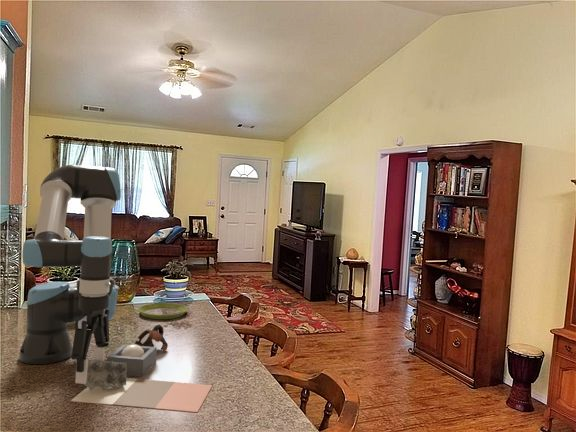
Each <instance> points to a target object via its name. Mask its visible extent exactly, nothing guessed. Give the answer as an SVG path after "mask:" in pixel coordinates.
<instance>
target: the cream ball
mask: <svg viewBox="0 0 576 432" xmlns="http://www.w3.org/2000/svg"><path fill="white" fill-rule="evenodd" d="M128 345H129V346H127V347H125V348H124V349H123V351H122V353H121V356H129V357H141V356H143V355H144V350H143V349H142V348H141V347H140V346H139V345H135V343H134V344H128Z"/></svg>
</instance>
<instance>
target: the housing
mask: <svg viewBox="0 0 576 432" xmlns="http://www.w3.org/2000/svg"><path fill="white" fill-rule="evenodd" d="M129 345H130V344H122V345H121V346H119V347H118V348H117V349H115V350H113V352H111V353H110V354H109V355H108V356H107V357H106V358H107V359H106V361H113V362H117V363H120V362H121V363H124V362H126V363H127V376H134V377H144V375H146V373H148V371H150V369H152V367H153V366H154V365H155V364H156V363H157V352H158V351H157V347H156V346H154V347H148V346H140V347H141V348H142V349H143V350H144V355H143V356H141V357H129V356H121V353H122V351H123V349H124V348H125V347H127V346H129Z"/></svg>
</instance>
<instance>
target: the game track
mask: <svg viewBox="0 0 576 432" xmlns="http://www.w3.org/2000/svg"><path fill="white" fill-rule="evenodd" d="M212 388H213V385H212V384H203V383H190V382H178V381H177V382H176V381H165V380H154V379H143V378H134V377H133V378H132V377H127V378H126V385H124V386H123V387H120V388H119V389H114V388H113V387H108V388H107V389H106V390H102V389H101V387H99V386H97V387H94V389H93V390H90V389H89V388H88V387H87V386H86V388H84V389H83V390H82V391H80V393H78V394H77V395H76V396H75V397H73V398H72V399H71V400H70V401H71V402H74V403H75V402H77V403H85V404H87V403H89V404H95V405H96V404H98V405H109V406H117V407H118V406H120V407H130V408H131V407H132V408H142V409H143V408H144V409H154V410H163V411H174V412H176V411H177V412H184V413H185V412H188V413H196V414H197V413H199V411H200V409H201V407H202V405H203V403H204V402H205V400H206V398H207V396H208V395H209V392H210V391H211V389H212Z"/></svg>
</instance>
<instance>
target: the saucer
mask: <svg viewBox="0 0 576 432" xmlns="http://www.w3.org/2000/svg"><path fill="white" fill-rule="evenodd" d="M155 309H172V310H173V309H174V310H178V311H181V312H179V313H178V312H177V313H171V314H154V313H146V312H147V311H150V310H155ZM138 311H139V313H140V315H141V316H142V317H144V318H147V319H151V320H152V319H153V320H172V319H176V318H177V319H178V318H179V317H182V316H184V314H185V313H186V312H187V311H188V308H187V307H186V306H184V305H181V304H178V303H171V302H170V303H169V302H168V303H165V302H164V303H163V302H161V303H160V302H159V303H149V304H145V305H141V306H139V308H138Z"/></svg>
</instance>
